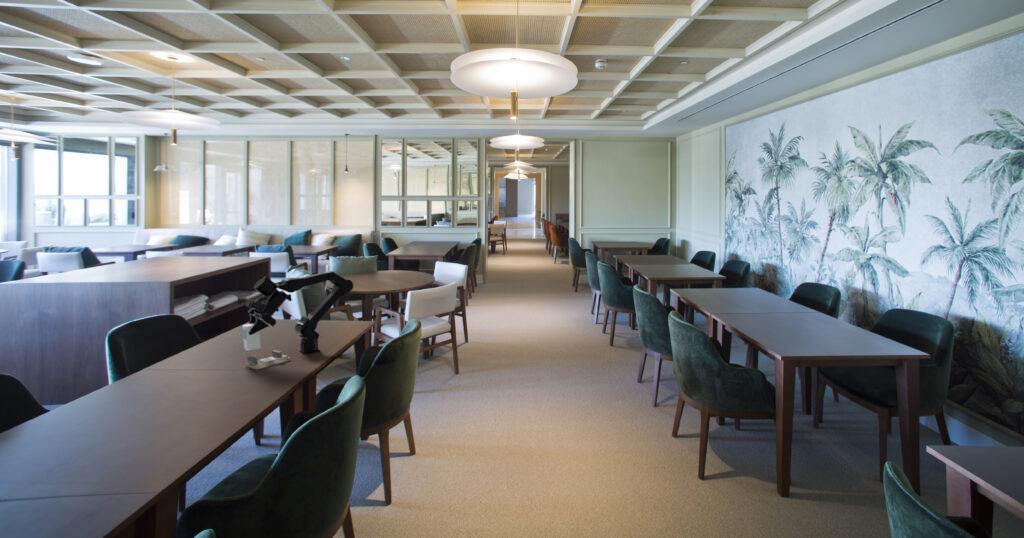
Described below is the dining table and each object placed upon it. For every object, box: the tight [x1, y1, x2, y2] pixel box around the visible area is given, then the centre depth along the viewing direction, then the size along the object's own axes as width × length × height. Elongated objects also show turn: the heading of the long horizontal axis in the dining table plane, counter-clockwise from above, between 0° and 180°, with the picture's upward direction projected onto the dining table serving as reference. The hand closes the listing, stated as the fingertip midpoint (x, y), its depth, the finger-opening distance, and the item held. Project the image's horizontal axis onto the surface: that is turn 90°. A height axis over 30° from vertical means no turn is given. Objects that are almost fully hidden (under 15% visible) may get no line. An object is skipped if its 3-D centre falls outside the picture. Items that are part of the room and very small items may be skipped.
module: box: [242, 323, 261, 352], centre depth 212 cm, size 5×4×10 cm
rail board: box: [245, 349, 291, 370], centre depth 213 cm, size 15×8×4 cm, turn 145°
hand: (247, 333), depth 211 cm, fingers closed on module, 4 cm apart
